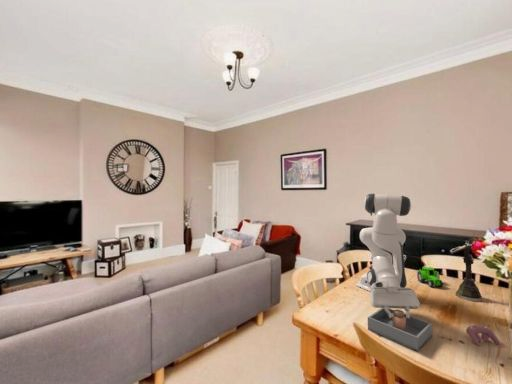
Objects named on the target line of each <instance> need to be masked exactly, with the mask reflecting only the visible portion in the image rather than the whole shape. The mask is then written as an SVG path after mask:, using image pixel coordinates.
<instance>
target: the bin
mask: <svg viewBox="0 0 512 384" xmlns="http://www.w3.org/2000/svg"><path fill="white" fill-rule="evenodd" d="M388 310H389V311H390V312H391V313H394V310H395V309H393V308H389V309H388ZM409 316H410V319H406V332H405V331H402V330H400V329H397V328H395V327H393V326H392V318H389V315H388V314H387V313H386V312H385V310H384V308H379V309H378V310H376V311H375V312H373V313H372V314H371V315H369V316H368V317H367V330H369V331H370V332H373V333H374V334H377V335H380V336H381V337H383V338H386V339H388V340H390V341H393V342H395V343H397V344H399V345H401V346H404V347H406V348H408V349H411V350H412V351H415V352H417V353H419V352H420V351H421V349H422V348H423V347H424V346H425V345H426V344H427V342H429V340H430V339H431V338H432V337H433V323H431V322H429V321H427V320H423V319H420V318H417V317H414V316H412V315H409Z"/></svg>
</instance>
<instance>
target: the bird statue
mask: <svg viewBox="0 0 512 384" xmlns="http://www.w3.org/2000/svg"><path fill="white" fill-rule="evenodd" d="M474 241H475V238H474V237H473V238H472V237H471V238H469V239H468V242H467V241H465V243H464V244H463V245H462V246H460V245H459V246H457V247H455V248H452V249H450V250H449V256H452V255H453V254H456V253H458V252H460V251H463V254H464V256H463V257H462V260H463V263H464V264H465V270H464V271H465V277H463V281H462V282H461V283H460V285H459V287H458V289H457V290H456V291H455V296H456V297H458V298H460V299H461V300H466V301H469V302H479V303H480V302H482V300H483V296H482V294H481V292H480V289H479V288H478V286H477V284H476V282H475V279H473V278H472V272H473V270H472V265H473V264H474V261H475V259H474V258H473V255H472V254H471V253H470V251H471V250H473V249H471V246H472V243H473V242H474ZM473 244H474V243H473Z"/></svg>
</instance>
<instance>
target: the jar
mask: <svg viewBox="0 0 512 384" xmlns="http://www.w3.org/2000/svg"><path fill="white" fill-rule="evenodd" d="M393 310H394V313H393V316H394V318H392V326H393V327H395V328H397V329H400V330H402V331H405V332H406V317H405V316H404V314H405V312H404V311H403V310H402V309H393Z"/></svg>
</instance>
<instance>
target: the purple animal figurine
mask: <svg viewBox="0 0 512 384" xmlns="http://www.w3.org/2000/svg"><path fill="white" fill-rule="evenodd" d="M465 329H466V330H465V331H466V333H467V335H468V336H469V338H470V340H471V341H472V343H474V344H475V345H476V346H479V344H480V341H481V340H482V341H484V342H488V341H489V340H490V339H491V340H492V342H493V343H494V344H496V346H500V345H501V342H500V339H499V338H498V337H497V336H496V334H495V333H494V331H493V330H492V329H490V328H489V327H488V326H485V325H480V324H479V325H477V324H476V325H471V326H468V327H466V328H465ZM479 334H480V335H479Z"/></svg>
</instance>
